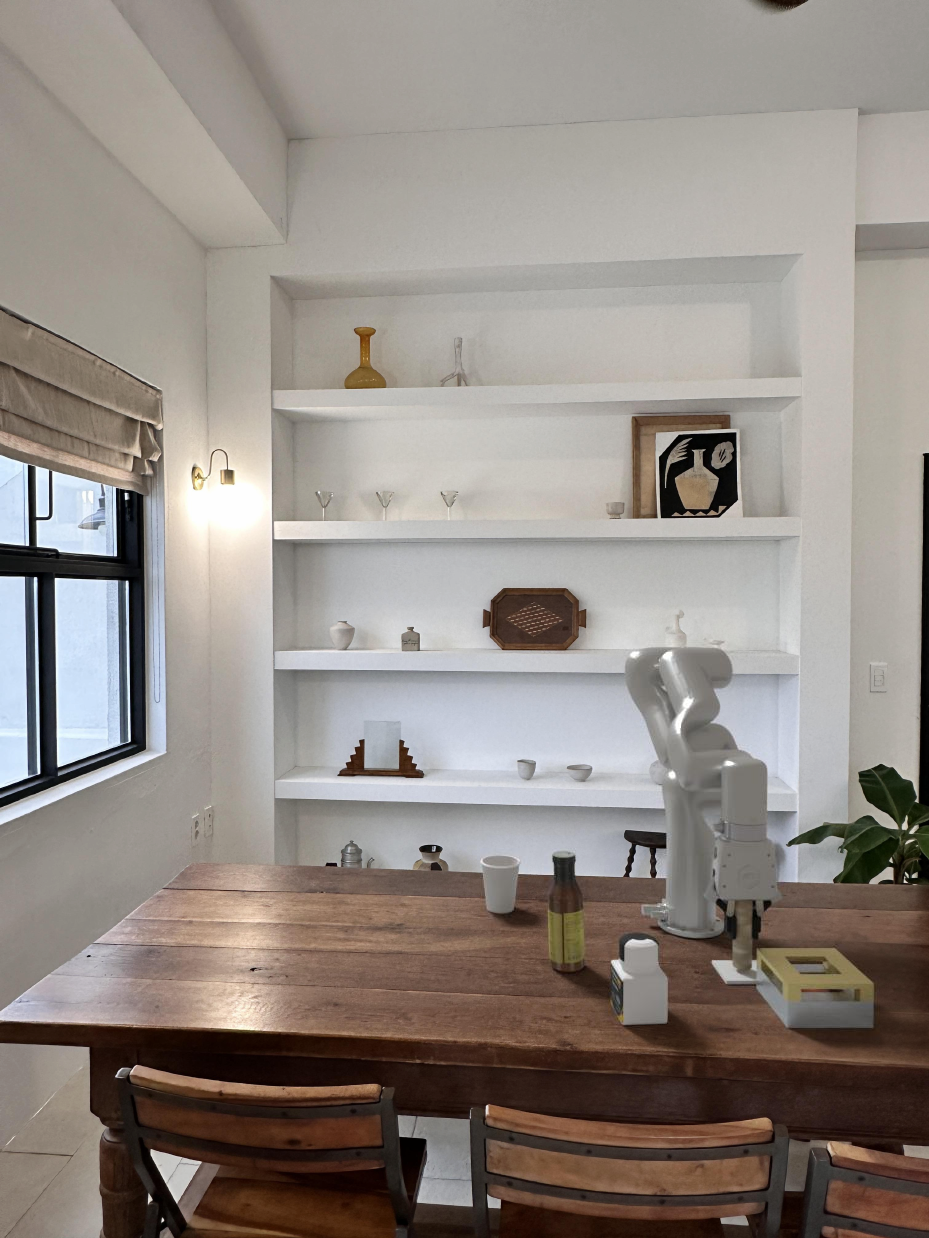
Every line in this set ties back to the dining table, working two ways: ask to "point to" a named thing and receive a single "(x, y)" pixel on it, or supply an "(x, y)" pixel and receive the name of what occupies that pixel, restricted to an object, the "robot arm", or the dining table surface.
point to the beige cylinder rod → (743, 935)
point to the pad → (735, 972)
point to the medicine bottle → (639, 982)
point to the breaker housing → (798, 1009)
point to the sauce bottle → (565, 916)
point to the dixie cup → (500, 882)
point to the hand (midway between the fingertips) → (742, 935)
